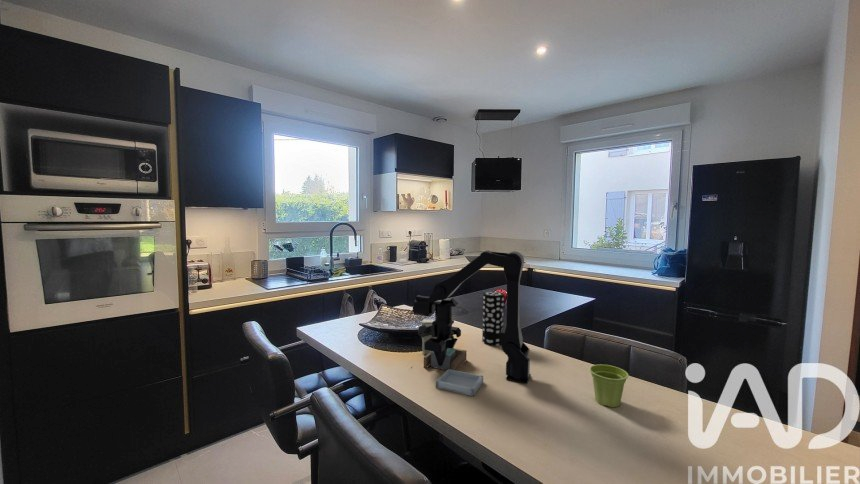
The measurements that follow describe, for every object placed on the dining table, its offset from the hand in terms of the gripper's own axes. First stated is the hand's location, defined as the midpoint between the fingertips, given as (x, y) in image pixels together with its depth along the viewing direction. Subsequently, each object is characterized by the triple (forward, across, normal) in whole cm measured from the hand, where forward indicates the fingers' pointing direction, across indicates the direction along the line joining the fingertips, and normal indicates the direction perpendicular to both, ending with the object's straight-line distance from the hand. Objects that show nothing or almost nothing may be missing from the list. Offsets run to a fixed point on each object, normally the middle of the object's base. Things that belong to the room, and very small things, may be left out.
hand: (443, 362), depth 120 cm
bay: (+1, -2, 0) cm, 2 cm away
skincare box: (+1, -9, -9) cm, 13 cm away
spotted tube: (+1, -30, +9) cm, 31 cm away
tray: (+1, +10, +10) cm, 15 cm away
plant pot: (+1, +2, +50) cm, 50 cm away
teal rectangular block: (+1, 0, 0) cm, 1 cm away
